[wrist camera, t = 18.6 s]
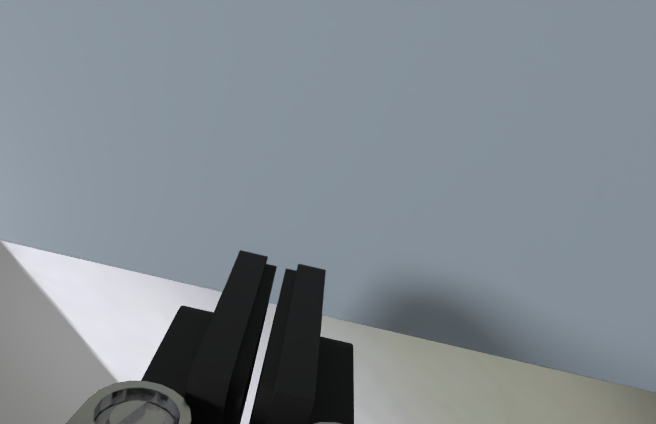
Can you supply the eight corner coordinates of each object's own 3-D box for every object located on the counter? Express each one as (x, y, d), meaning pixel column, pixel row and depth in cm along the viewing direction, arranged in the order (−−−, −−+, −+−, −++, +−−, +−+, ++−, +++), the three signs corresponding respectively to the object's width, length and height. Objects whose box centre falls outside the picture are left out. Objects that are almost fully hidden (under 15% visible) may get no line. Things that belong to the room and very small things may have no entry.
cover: (894, 24, 18) (929, 8, 17) (861, 440, 16) (899, 449, 15) (-159, -250, 17) (-187, -285, 16) (-334, 162, 15) (-378, 152, 14)
